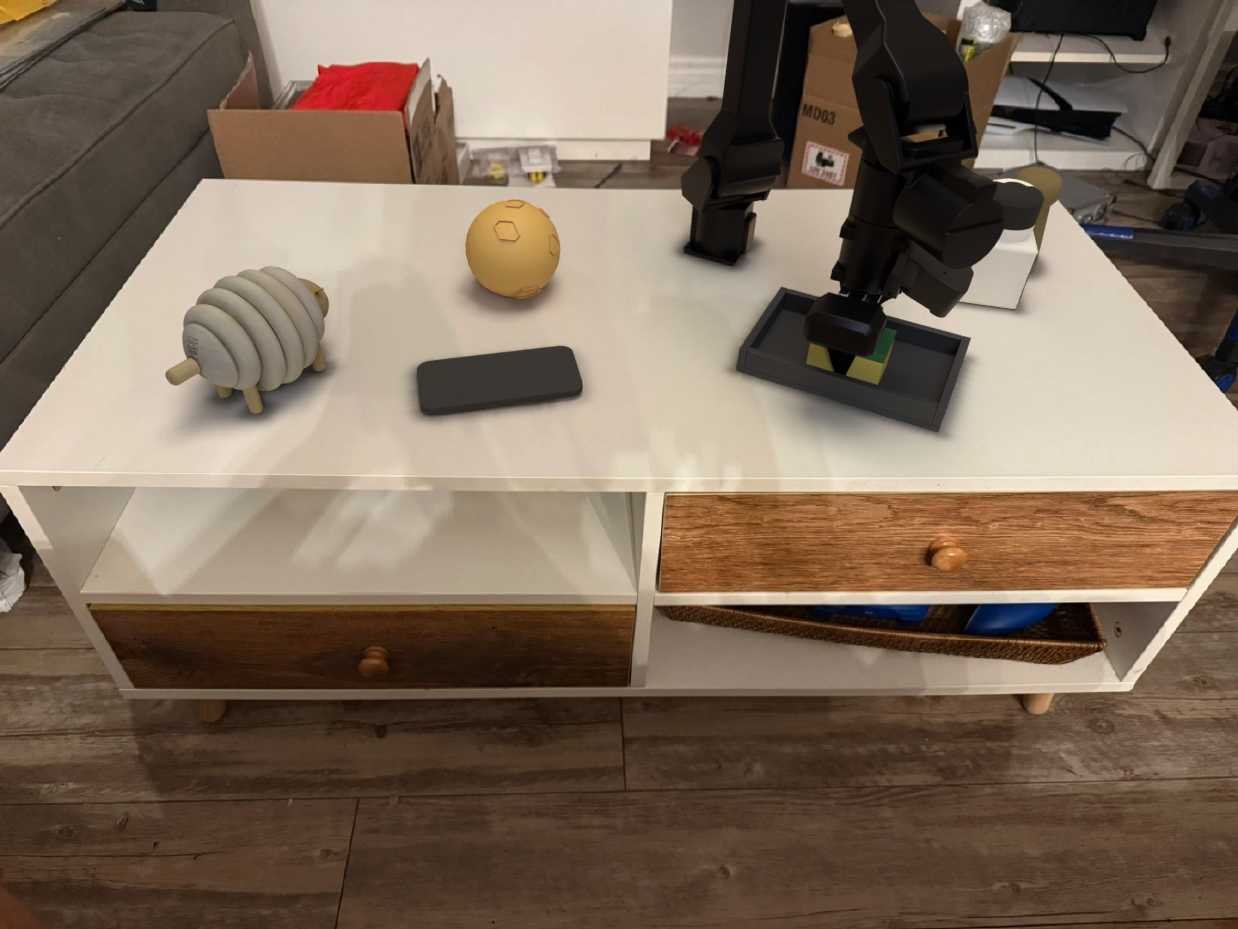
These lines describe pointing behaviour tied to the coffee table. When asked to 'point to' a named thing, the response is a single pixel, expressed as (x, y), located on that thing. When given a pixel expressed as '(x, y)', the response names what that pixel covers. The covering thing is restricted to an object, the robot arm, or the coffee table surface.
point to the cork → (1051, 191)
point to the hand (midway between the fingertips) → (847, 360)
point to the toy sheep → (253, 333)
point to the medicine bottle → (1008, 248)
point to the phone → (498, 379)
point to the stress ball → (513, 248)
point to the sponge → (858, 359)
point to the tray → (904, 391)
